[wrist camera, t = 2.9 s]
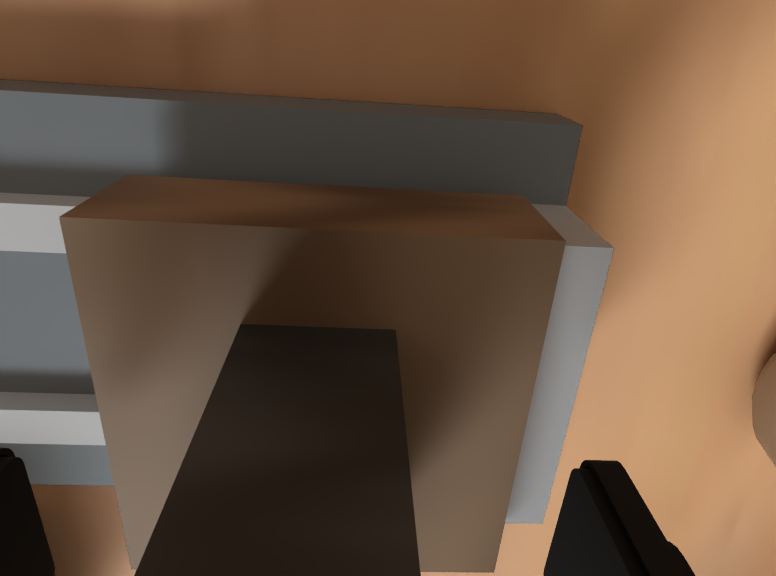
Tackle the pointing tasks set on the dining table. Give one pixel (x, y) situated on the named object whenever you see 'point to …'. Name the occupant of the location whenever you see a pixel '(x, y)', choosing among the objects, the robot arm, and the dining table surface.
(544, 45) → the dining table surface
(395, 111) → the rail board
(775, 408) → the plastic bottle
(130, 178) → the carriage
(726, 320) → the dining table surface
